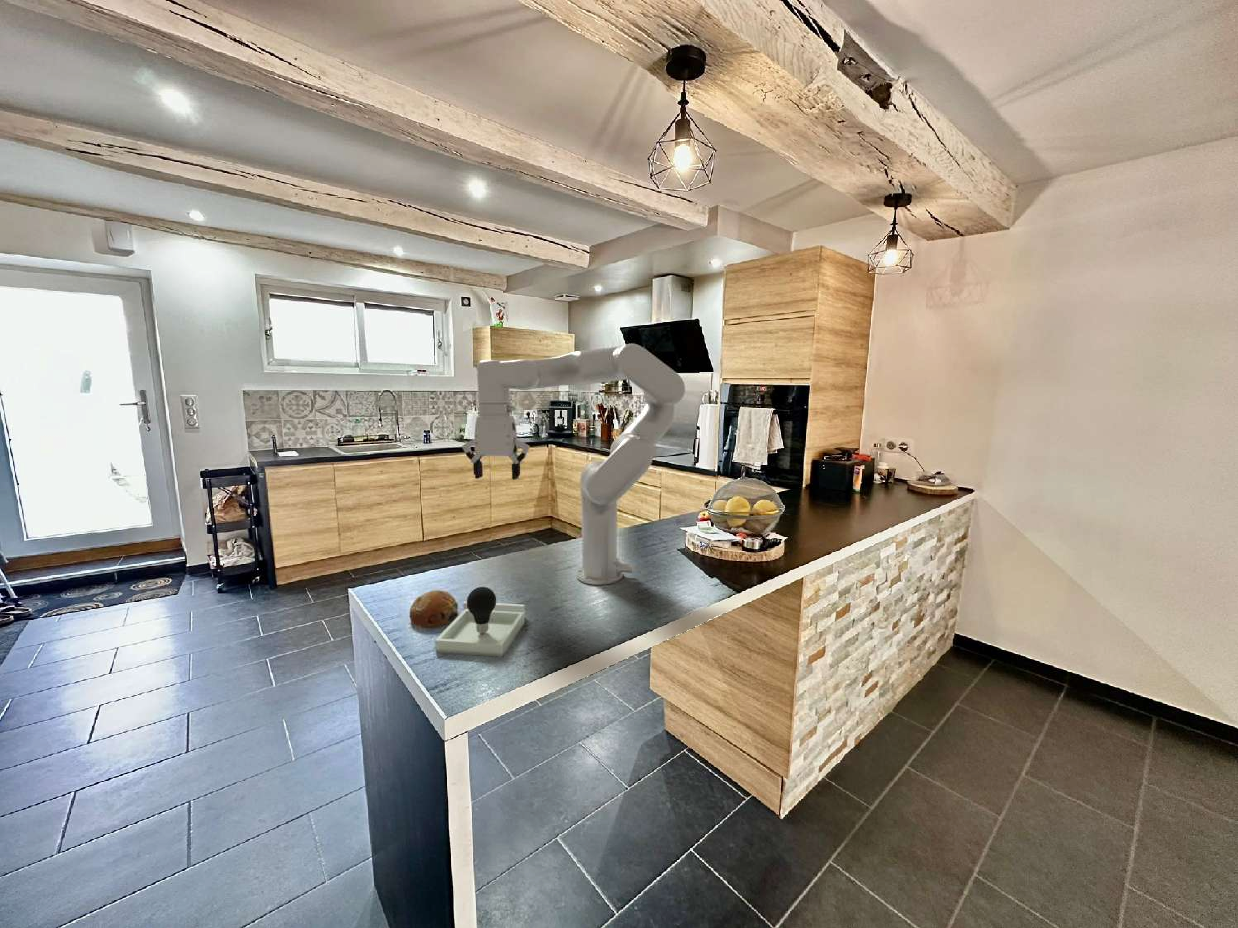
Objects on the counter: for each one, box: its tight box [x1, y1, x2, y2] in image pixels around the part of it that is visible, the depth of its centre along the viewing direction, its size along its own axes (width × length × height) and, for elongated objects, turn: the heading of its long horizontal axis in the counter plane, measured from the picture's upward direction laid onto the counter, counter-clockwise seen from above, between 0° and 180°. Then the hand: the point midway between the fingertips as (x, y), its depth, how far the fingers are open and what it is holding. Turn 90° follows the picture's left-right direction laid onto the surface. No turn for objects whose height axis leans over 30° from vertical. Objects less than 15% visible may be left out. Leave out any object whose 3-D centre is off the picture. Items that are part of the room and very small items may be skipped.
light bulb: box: [466, 586, 497, 634], centre depth 100 cm, size 6×6×10 cm
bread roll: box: [409, 589, 459, 629], centre depth 108 cm, size 10×10×8 cm
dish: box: [434, 608, 526, 658], centre depth 100 cm, size 14×14×2 cm
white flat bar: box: [462, 600, 526, 618], centre depth 109 cm, size 14×1×3 cm, turn 83°
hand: (497, 478), depth 123 cm, fingers open, 9 cm apart
